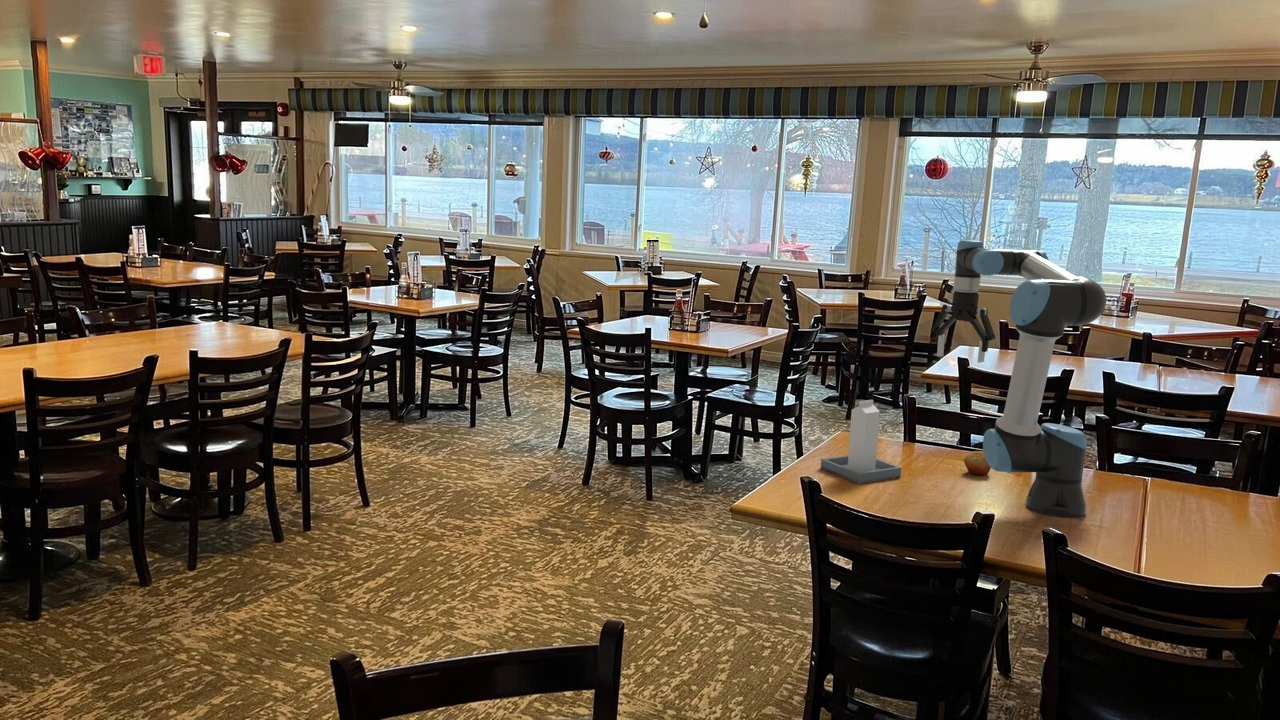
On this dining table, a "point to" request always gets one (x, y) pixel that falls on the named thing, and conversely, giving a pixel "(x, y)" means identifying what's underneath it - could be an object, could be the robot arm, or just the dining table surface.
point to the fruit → (977, 463)
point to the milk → (863, 437)
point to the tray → (880, 473)
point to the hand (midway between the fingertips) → (960, 358)
